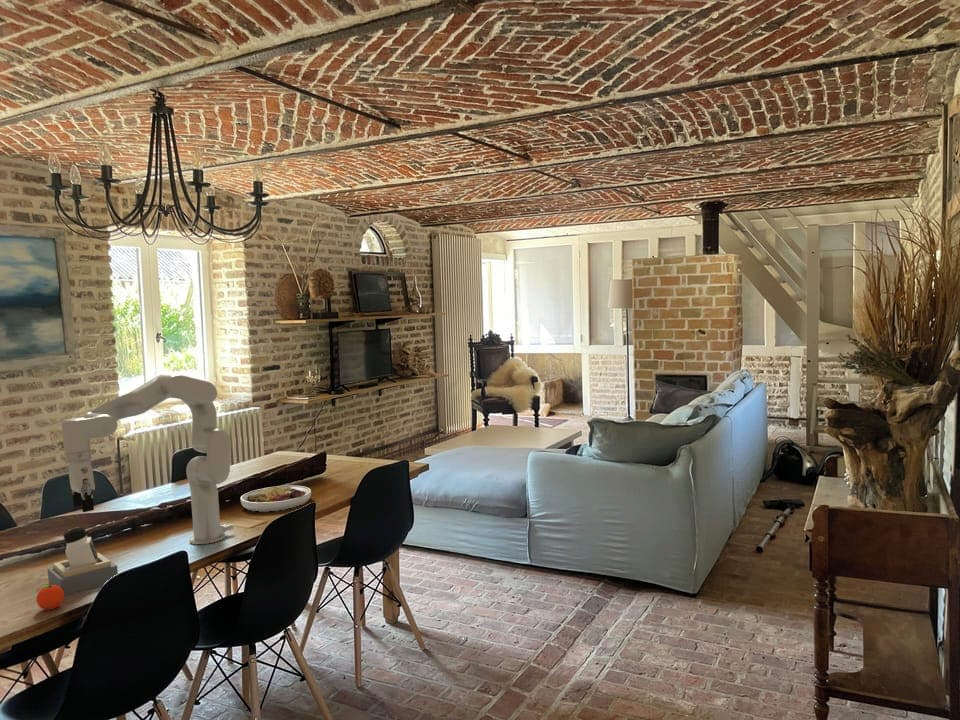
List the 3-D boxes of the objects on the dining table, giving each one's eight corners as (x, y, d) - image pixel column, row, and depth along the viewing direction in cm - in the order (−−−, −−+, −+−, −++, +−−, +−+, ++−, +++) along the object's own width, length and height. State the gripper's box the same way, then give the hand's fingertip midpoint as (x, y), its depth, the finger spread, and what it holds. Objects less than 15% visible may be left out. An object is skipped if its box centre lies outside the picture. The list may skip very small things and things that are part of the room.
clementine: (28, 613, 202) (26, 589, 202) (46, 603, 209) (44, 580, 209) (52, 614, 201) (50, 589, 200) (70, 604, 208) (68, 580, 207)
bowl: (226, 510, 306) (224, 493, 305) (275, 493, 332) (274, 477, 332) (278, 517, 292) (277, 498, 292) (325, 498, 319) (324, 481, 318)
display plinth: (103, 569, 237) (101, 550, 236) (118, 580, 225) (116, 560, 225) (48, 583, 226) (47, 563, 225) (61, 596, 214) (60, 575, 214)
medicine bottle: (96, 562, 224) (84, 528, 222) (72, 571, 221) (59, 536, 219) (98, 556, 230) (86, 522, 228) (74, 565, 227) (61, 530, 225)
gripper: (99, 457, 223) (104, 510, 224) (83, 451, 235) (88, 501, 236) (73, 462, 218) (78, 516, 219) (57, 455, 230) (63, 506, 231)
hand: (83, 508), depth 228 cm, fingers open, 9 cm apart
